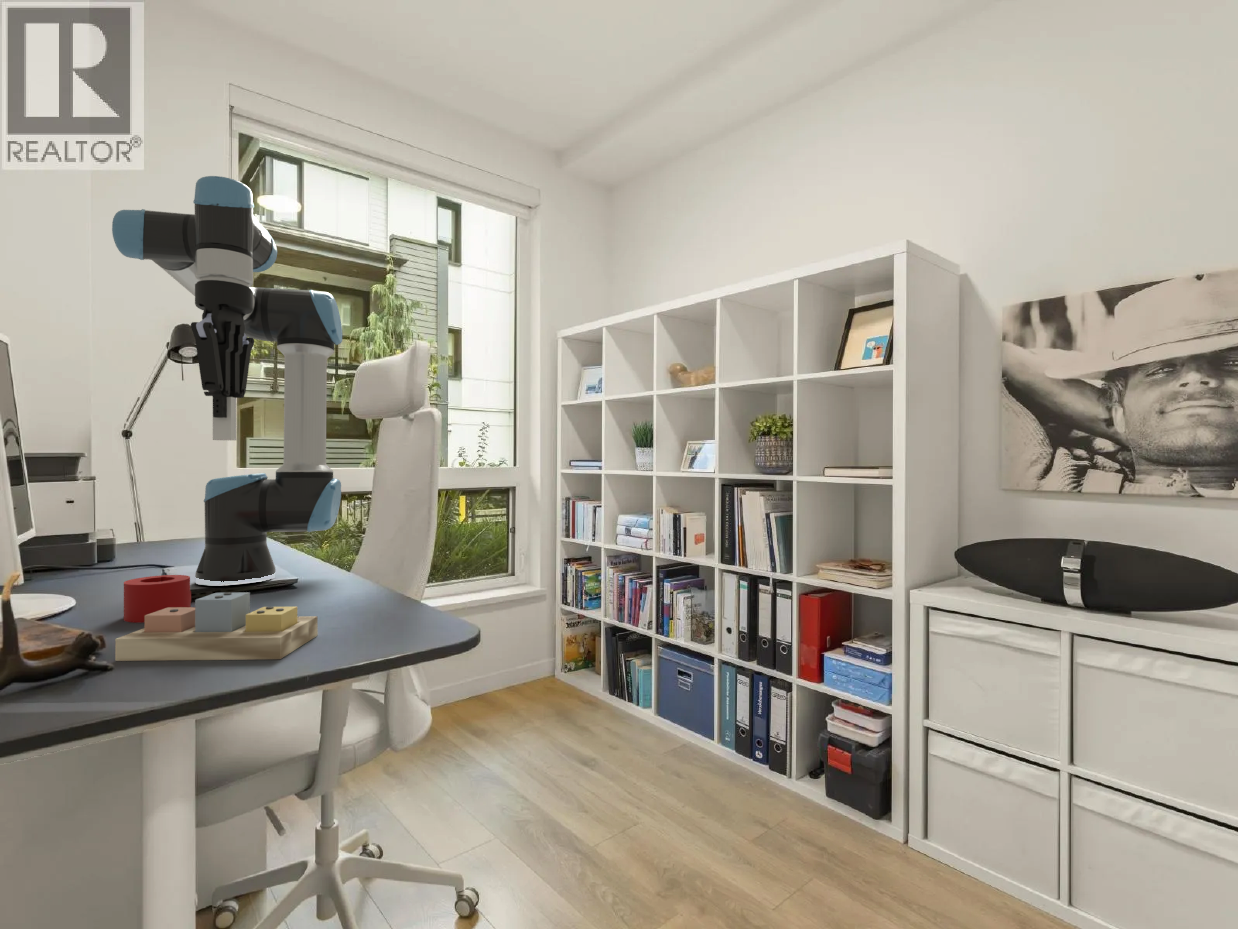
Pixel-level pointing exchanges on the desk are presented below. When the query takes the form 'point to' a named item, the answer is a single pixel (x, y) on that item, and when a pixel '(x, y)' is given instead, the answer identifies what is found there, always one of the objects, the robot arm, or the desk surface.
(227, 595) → the tile two
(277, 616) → the tile three
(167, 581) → the red oval ring
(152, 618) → the tile one
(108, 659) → the desk surface
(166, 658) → the button board
